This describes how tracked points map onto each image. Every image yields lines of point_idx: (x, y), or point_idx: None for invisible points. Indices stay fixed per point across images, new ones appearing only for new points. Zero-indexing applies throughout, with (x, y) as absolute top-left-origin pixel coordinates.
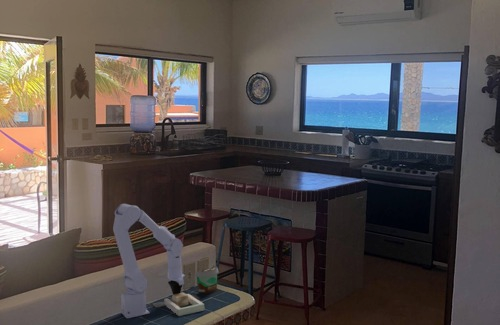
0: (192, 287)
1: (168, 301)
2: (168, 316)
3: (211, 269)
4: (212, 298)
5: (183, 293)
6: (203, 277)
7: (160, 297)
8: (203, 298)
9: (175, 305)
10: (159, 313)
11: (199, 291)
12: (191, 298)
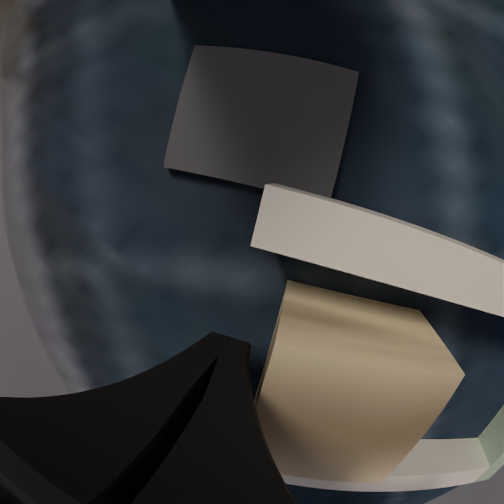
0: (39, 17)
1: (298, 481)
2: None
3: None
4: (444, 14)
5: (335, 374)
6: None
7: (43, 317)
8: (381, 49)
9: (430, 480)
10: (339, 496)
11: None
12: (475, 308)
